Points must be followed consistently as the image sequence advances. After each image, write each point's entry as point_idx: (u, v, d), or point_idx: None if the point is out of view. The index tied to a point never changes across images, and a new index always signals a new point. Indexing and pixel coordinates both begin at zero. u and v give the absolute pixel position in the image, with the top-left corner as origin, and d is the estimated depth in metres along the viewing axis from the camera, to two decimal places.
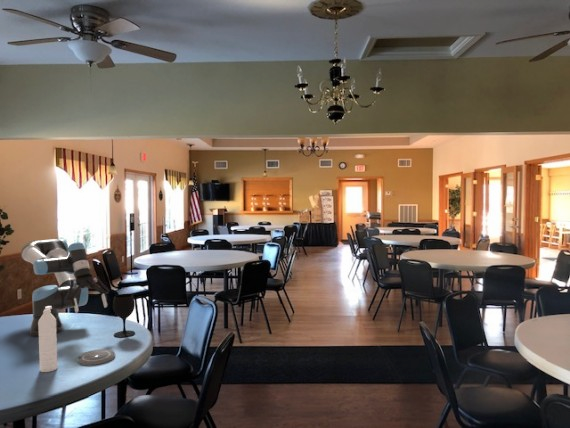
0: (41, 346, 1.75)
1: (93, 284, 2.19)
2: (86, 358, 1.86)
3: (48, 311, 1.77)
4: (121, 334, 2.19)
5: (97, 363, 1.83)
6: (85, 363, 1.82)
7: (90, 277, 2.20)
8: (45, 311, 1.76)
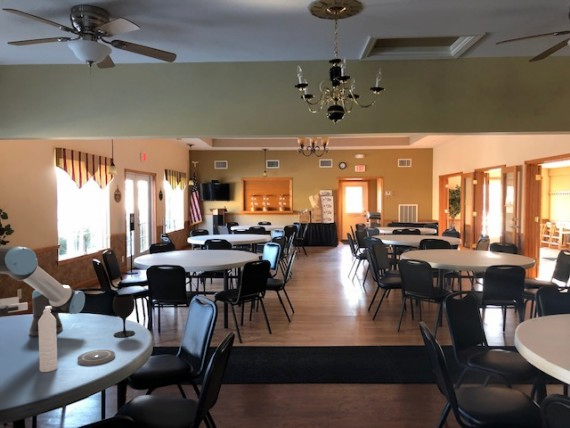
0: (41, 346, 1.75)
1: None
2: (86, 358, 1.86)
3: (48, 311, 1.77)
4: (121, 334, 2.19)
5: (97, 363, 1.83)
6: (85, 363, 1.82)
7: None
8: (45, 311, 1.76)
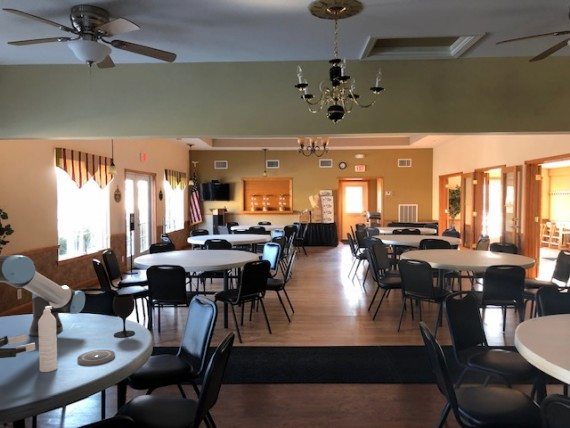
0: (41, 346, 1.75)
1: None
2: (86, 358, 1.86)
3: (48, 311, 1.77)
4: (121, 334, 2.19)
5: (97, 363, 1.83)
6: (85, 363, 1.82)
7: None
8: (45, 311, 1.76)
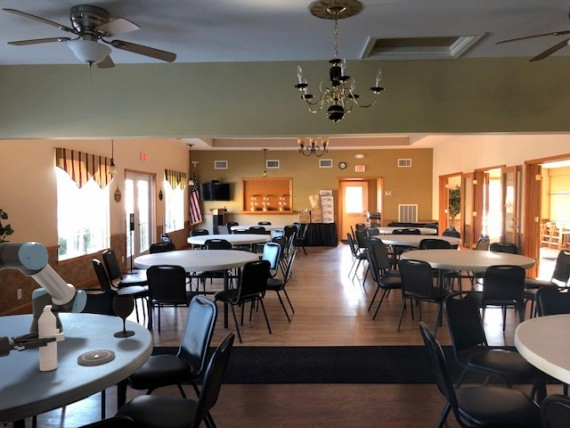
0: None
1: None
2: (86, 358, 1.86)
3: (48, 309, 1.78)
4: (121, 334, 2.19)
5: (97, 363, 1.83)
6: (85, 363, 1.82)
7: None
8: (45, 309, 1.78)
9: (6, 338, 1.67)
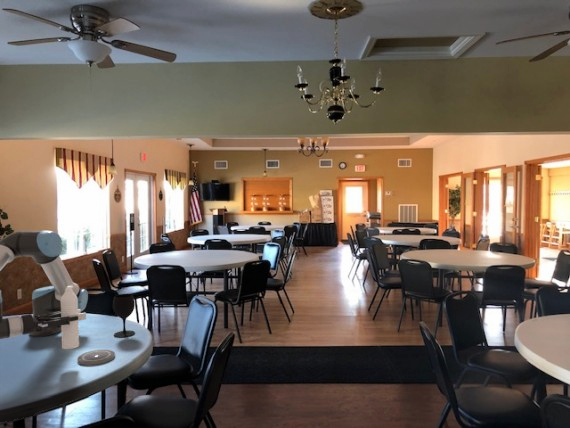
0: None
1: None
2: (86, 358, 1.86)
3: (70, 289, 1.81)
4: (121, 334, 2.19)
5: (97, 363, 1.83)
6: (85, 363, 1.82)
7: None
8: (67, 289, 1.81)
9: (30, 316, 1.71)
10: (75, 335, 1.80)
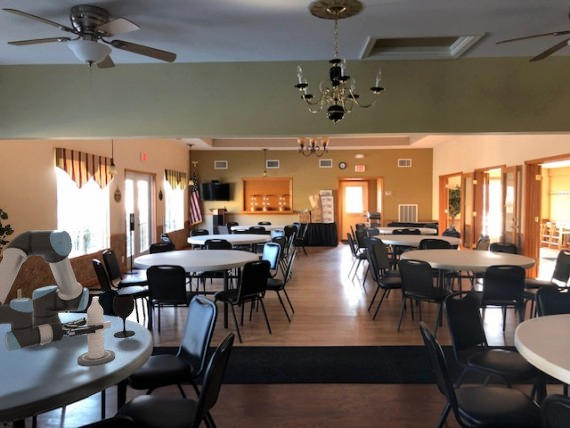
0: (90, 334, 1.85)
1: None
2: (86, 358, 1.86)
3: (96, 301, 1.87)
4: (121, 334, 2.19)
5: (97, 363, 1.83)
6: (85, 363, 1.82)
7: None
8: (93, 301, 1.86)
9: (59, 324, 1.77)
10: (101, 345, 1.87)
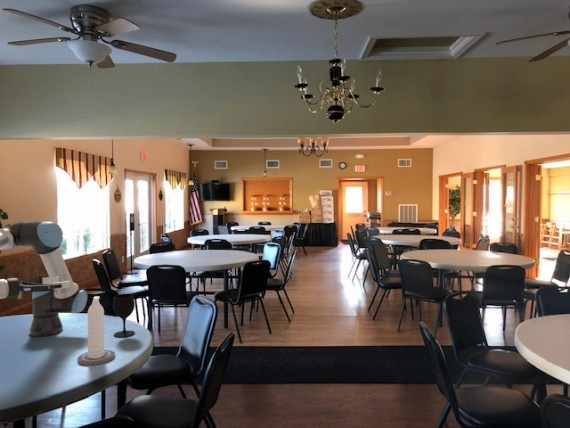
0: (90, 334, 1.85)
1: None
2: (86, 358, 1.86)
3: (97, 301, 1.87)
4: (121, 334, 2.19)
5: (97, 363, 1.83)
6: (85, 363, 1.82)
7: None
8: (94, 301, 1.86)
9: (16, 279, 1.71)
10: (101, 345, 1.87)
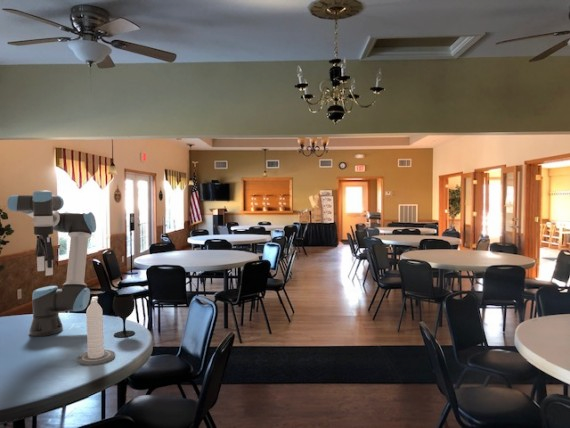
0: (89, 334, 1.85)
1: (41, 247, 1.89)
2: (86, 358, 1.86)
3: (95, 301, 1.87)
4: (121, 334, 2.19)
5: (97, 363, 1.83)
6: (85, 363, 1.82)
7: (42, 237, 1.90)
8: (92, 301, 1.86)
9: None
10: (100, 345, 1.87)
